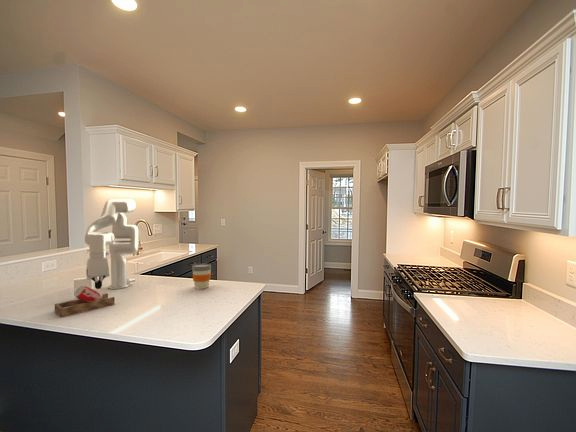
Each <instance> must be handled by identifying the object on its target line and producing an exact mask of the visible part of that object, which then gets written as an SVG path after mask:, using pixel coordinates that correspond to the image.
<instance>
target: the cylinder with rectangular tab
mask: <svg viewBox="0 0 576 432" xmlns="http://www.w3.org/2000/svg"><path fill="white" fill-rule="evenodd" d="M86 278H87V277H81V278H79V277H78V278H74V279H73V293H75V291H76V290H77V289H78V288H79V287H81V286H84V287H85V286H86V287H89V288H91V289H93V290H94V286H93V285H94V281H93V280H87V279H86ZM76 299H77V298H76V296H74V299H73V300H76Z"/></svg>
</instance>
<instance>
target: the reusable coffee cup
mask: <svg viewBox="0 0 576 432" xmlns="http://www.w3.org/2000/svg"><path fill="white" fill-rule="evenodd" d="M191 266H192V267H191V271H192V280H193V283H194V288H195V289H196V288H198V289H197V290H204V289H207V287H208V288H209V286H210V280H211V275H212V273H211V270H212V264H210V263H196V264H193V265H191ZM203 288H204V289H203Z"/></svg>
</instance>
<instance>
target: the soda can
mask: <svg viewBox="0 0 576 432" xmlns="http://www.w3.org/2000/svg"><path fill="white" fill-rule="evenodd" d="M73 293H74V292H73ZM102 294H103V293H100V292H98V291H96V290H95V289H94V288H93V289H91V288H89V287H86V286H85V287H84V286H81V287H79V288H78V289H77V290H76V291H75V293H74V294H73V295H74V296H76V298H77V299H79V300H81V301H83V302H85V303H87V302H92V301H96V300H101V299H102Z"/></svg>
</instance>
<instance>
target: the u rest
mask: <svg viewBox="0 0 576 432" xmlns="http://www.w3.org/2000/svg"><path fill="white" fill-rule="evenodd" d="M101 294H102V299H101V300H96V301H92V302H87V303H85V302H83V301H81V300H79V299H76V300H74V299H72V300H67V301H62V302H57V303H54V312H55V313H56V315H58V316H59V317H60V318H62V317H63V318H64V317H67V316H70V315H71V316H72V315H75V314H80V313H83V312H88V311H93V310H96V309H101V308H104V307H109V306H114V305H115V304H116V303H115V301H116V299H115V296H110V297H109V293H108V292H105V293H101Z"/></svg>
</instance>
